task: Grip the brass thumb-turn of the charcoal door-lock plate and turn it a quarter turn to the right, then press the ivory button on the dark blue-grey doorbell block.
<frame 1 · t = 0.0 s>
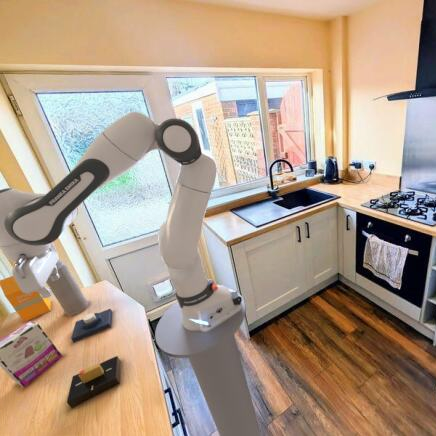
hand: (52, 287, 73), 30 cm above the countertop, tool pointing down, fingers open, 8 cm apart
lock plate: (98, 383, 76), on the countertop
thermos bottle: (78, 309, 110), on the countertop
lock knob: (91, 372, 74), point 5 cm above the countertop, hinge at 0.0°
candy bar box: (40, 370, 83), on the countertop
doorbell: (94, 326, 99), on the countertop
bell button: (89, 318, 97), point 4 cm above the countertop, slide at 0.1 cm
orange juice: (38, 312, 111), on the countertop
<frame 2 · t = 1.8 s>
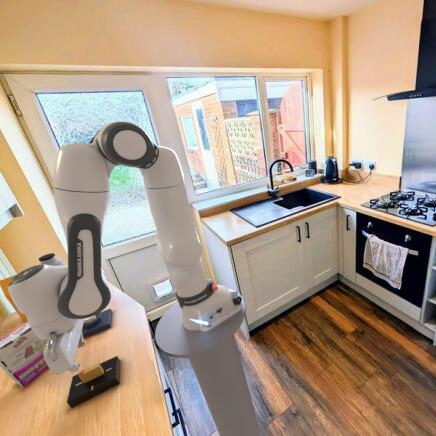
hand: (78, 356, 71), 12 cm above the countertop, tool pointing down, fingers open, 8 cm apart
nothing on the countertop moved.
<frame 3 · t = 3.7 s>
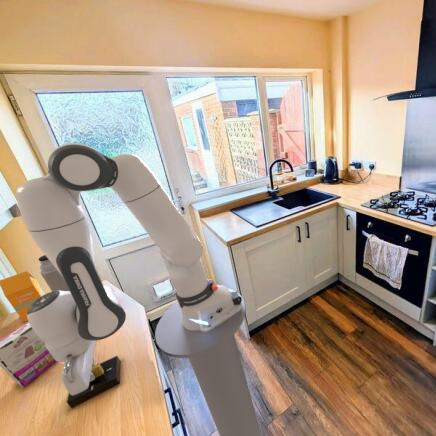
hand: (92, 375, 75), 4 cm above the countertop, tool pointing down, fingers closed on lock knob
lock knob: (91, 372, 74), point 5 cm above the countertop, hinge at 0.0°, touching gripper
everything else where it was.
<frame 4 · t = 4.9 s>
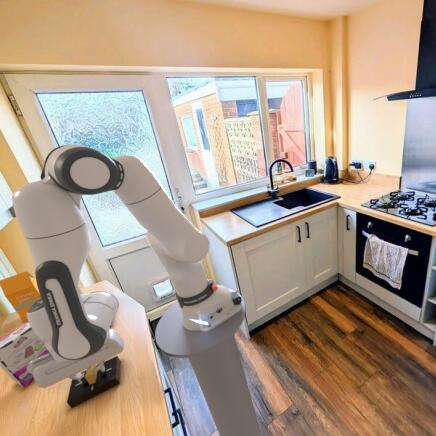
hand: (93, 375, 75), 4 cm above the countertop, tool pointing down, fingers open, 3 cm apart
lock knob: (91, 372, 74), point 5 cm above the countertop, hinge at -90.4°
everything else where it was.
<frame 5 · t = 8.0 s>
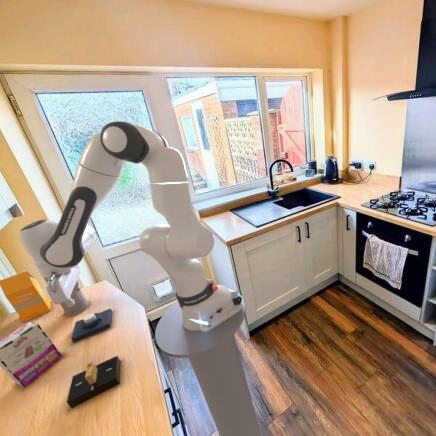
hand: (75, 297, 89), 17 cm above the countertop, tool pointing down, fingers open, 8 cm apart
nothing on the countertop moved.
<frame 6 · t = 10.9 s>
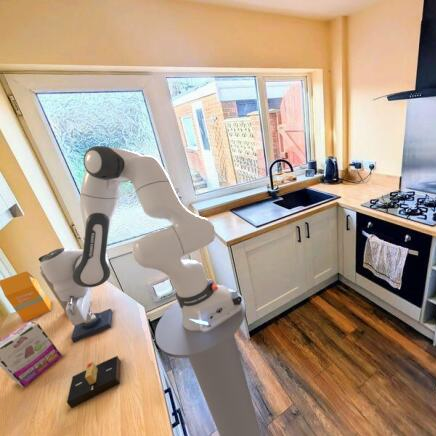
hand: (89, 317, 97), 5 cm above the countertop, tool pointing down, fingers closed, pressing on bell button
bell button: (90, 319, 97), point 4 cm above the countertop, slide at -0.5 cm, touching gripper
everything else where it was.
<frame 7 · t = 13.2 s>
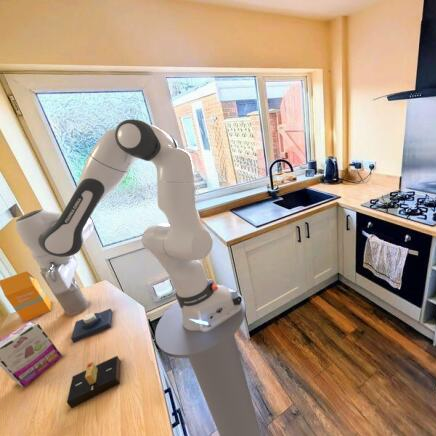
hand: (74, 288, 89), 20 cm above the countertop, tool pointing down, fingers closed
bell button: (89, 318, 97), point 4 cm above the countertop, slide at 0.1 cm
everything else where it was.
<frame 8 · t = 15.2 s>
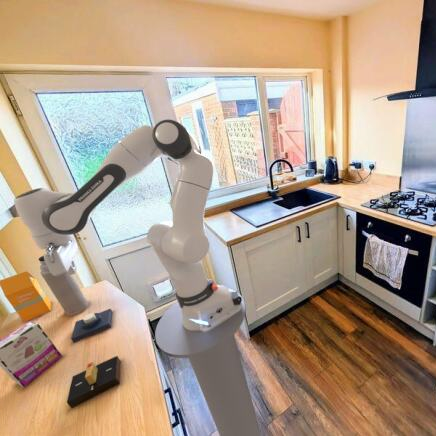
hand: (73, 272, 86), 27 cm above the countertop, tool pointing down, fingers closed
nothing on the countertop moved.
at the end: lock knob at -90° (first picture: +0°); bell button pushed in 1.1 cm at the most during the clip, back to where it started at the end; bell button slide at 0.1 cm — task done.
